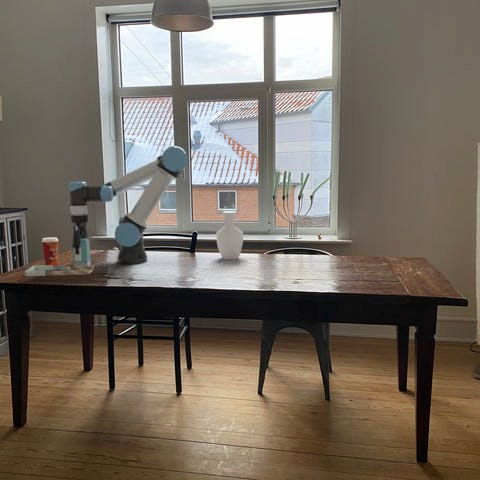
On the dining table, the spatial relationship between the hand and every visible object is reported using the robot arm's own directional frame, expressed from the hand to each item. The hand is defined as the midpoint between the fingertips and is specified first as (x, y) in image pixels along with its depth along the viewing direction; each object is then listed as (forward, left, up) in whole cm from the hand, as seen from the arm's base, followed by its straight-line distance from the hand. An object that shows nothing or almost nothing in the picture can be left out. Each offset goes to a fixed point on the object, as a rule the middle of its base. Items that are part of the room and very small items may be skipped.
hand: (81, 258), depth 217 cm
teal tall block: (0, 0, -5) cm, 5 cm away
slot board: (+2, +12, -5) cm, 14 cm away
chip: (+8, +10, -4) cm, 14 cm away
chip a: (+4, +14, -4) cm, 16 cm away
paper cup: (+16, -6, -5) cm, 18 cm away
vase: (-73, -17, -5) cm, 75 cm away
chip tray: (+16, +12, -5) cm, 21 cm away
